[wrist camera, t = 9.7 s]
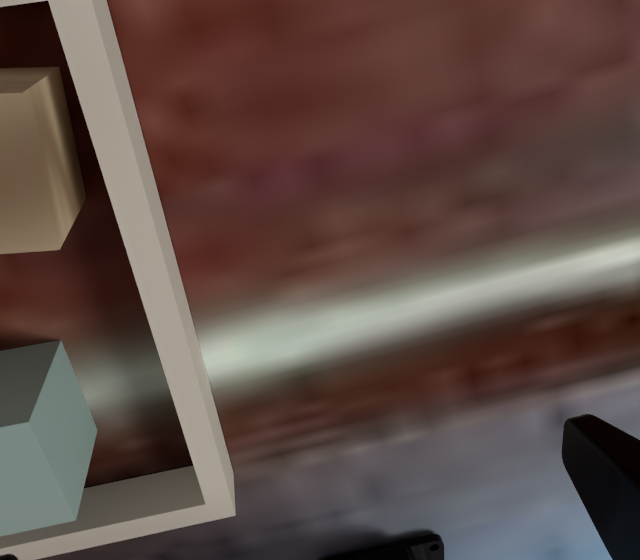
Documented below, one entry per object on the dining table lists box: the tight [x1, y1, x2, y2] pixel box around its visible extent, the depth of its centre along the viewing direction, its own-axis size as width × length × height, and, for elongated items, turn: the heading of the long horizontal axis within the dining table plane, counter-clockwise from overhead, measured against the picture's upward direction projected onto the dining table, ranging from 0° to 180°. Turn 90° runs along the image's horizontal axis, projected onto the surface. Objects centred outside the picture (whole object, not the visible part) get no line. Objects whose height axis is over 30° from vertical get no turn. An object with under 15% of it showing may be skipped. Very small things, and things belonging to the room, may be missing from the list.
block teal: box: [0, 340, 97, 536], centre depth 20 cm, size 4×4×4 cm
